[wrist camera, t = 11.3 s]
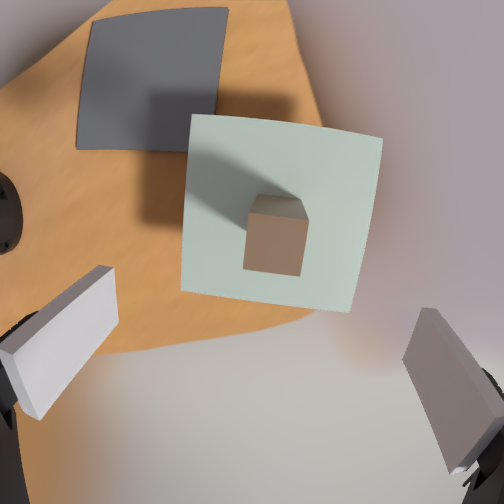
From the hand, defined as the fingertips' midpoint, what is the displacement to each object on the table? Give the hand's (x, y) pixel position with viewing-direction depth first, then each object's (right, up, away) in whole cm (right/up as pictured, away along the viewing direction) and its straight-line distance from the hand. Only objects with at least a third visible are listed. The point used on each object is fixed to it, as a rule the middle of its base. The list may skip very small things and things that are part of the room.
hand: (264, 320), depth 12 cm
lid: (+2, +6, +18) cm, 19 cm away
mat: (-14, +26, +23) cm, 37 cm away
